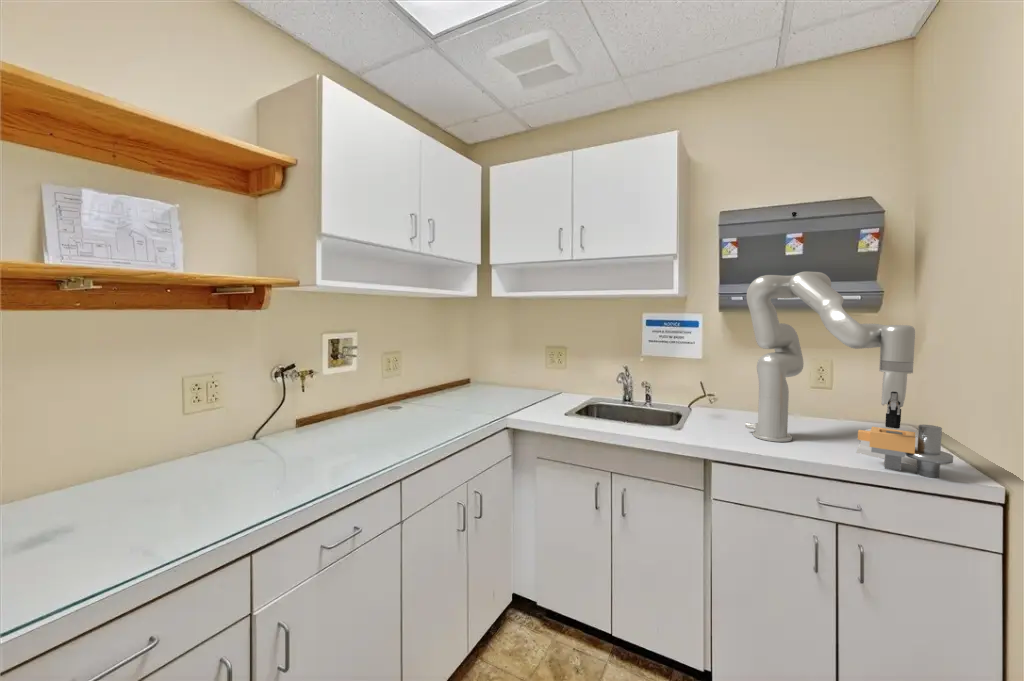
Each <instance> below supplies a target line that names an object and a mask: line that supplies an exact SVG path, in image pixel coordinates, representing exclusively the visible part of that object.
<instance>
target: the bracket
mask: <svg viewBox="0 0 1024 681" xmlns="http://www.w3.org/2000/svg"><path fill="white" fill-rule="evenodd" d="M870 429H871V431H865V430H866V429H865V430H864V429H863V430H862V429H858V430H857V440H859V441H861V440H863V441H870V446H869V447H874V448H881V449H887V450H893V451H900V452H906V453H913V454H915V436H916V431H909V430H907V431H906V430H902V429H895V428H888V427H886V428H885V427H878V426H871V428H870ZM886 431H894V432H902V434H903V435H900V434H892V433H886Z"/></svg>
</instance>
